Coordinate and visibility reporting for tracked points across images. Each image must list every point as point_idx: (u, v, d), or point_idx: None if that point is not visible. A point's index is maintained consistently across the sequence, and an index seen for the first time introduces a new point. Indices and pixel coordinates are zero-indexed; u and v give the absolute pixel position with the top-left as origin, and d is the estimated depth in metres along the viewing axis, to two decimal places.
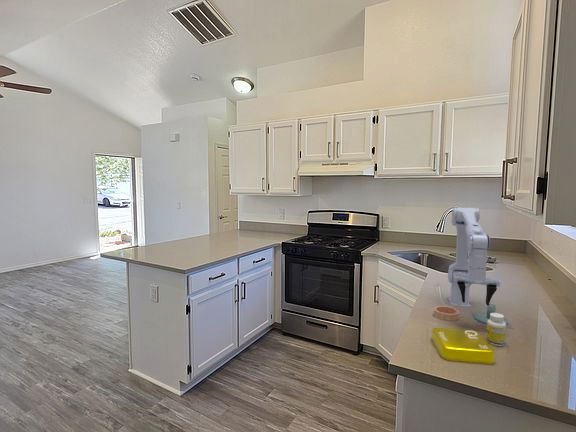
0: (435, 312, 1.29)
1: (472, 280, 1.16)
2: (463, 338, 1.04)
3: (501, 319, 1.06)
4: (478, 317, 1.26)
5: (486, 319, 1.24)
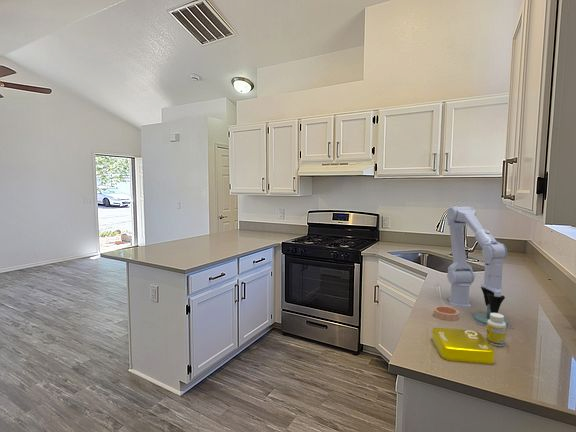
0: (435, 312, 1.29)
1: None
2: (463, 338, 1.04)
3: (501, 319, 1.06)
4: (478, 317, 1.26)
5: (486, 319, 1.24)
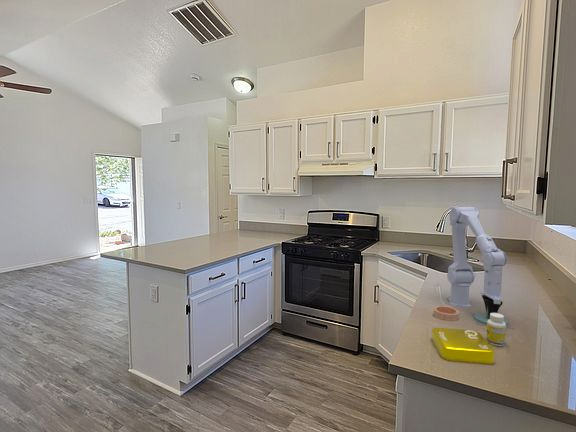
0: (435, 312, 1.29)
1: (483, 291, 1.27)
2: (463, 338, 1.04)
3: (501, 319, 1.06)
4: (478, 317, 1.26)
5: (486, 319, 1.24)
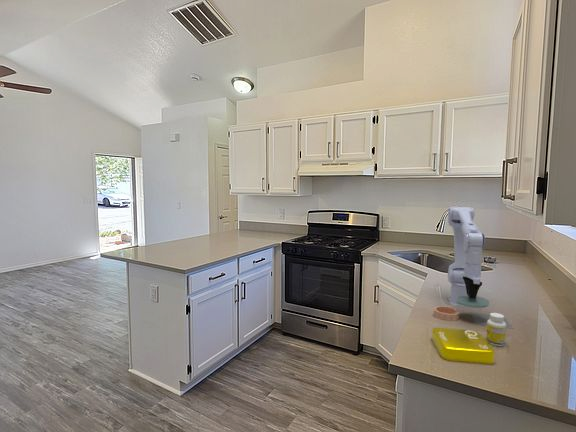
0: (435, 312, 1.29)
1: None
2: (463, 338, 1.04)
3: (501, 319, 1.06)
4: (460, 300, 1.27)
5: (467, 302, 1.25)
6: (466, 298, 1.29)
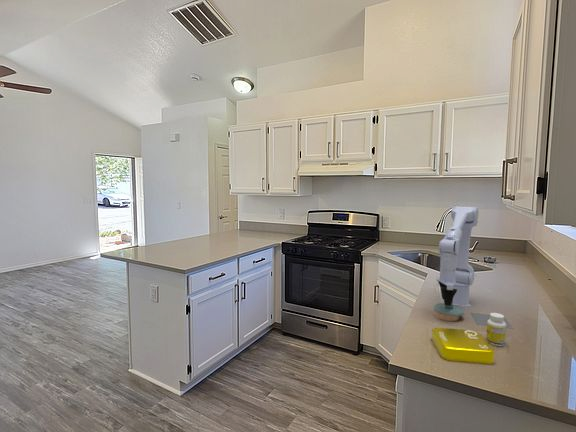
0: (435, 312, 1.29)
1: None
2: (463, 338, 1.04)
3: (501, 319, 1.06)
4: (437, 307, 1.30)
5: (443, 309, 1.28)
6: (443, 306, 1.32)
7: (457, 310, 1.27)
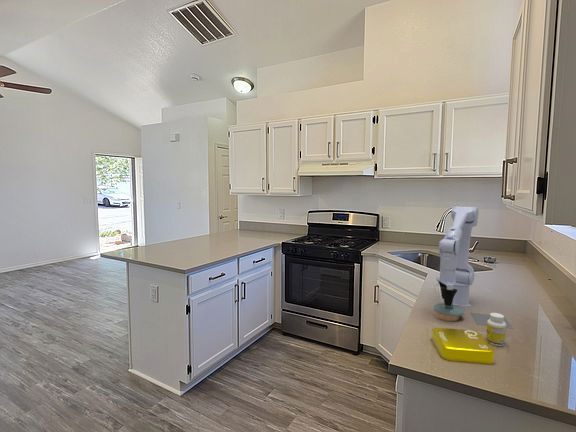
0: (435, 312, 1.29)
1: None
2: (463, 338, 1.04)
3: (501, 319, 1.06)
4: (437, 307, 1.30)
5: (443, 309, 1.28)
6: (443, 306, 1.32)
7: (457, 310, 1.27)
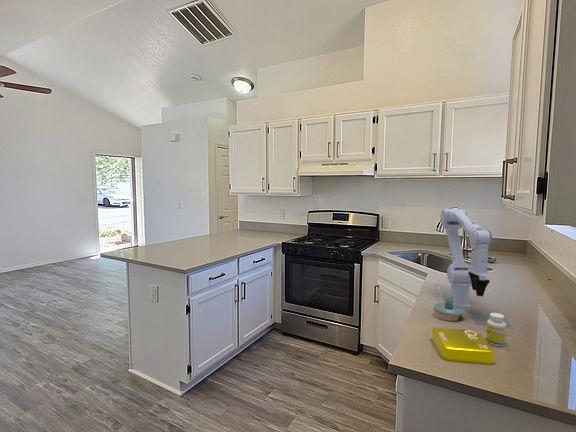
0: (435, 312, 1.29)
1: None
2: (463, 338, 1.04)
3: (501, 319, 1.06)
4: (437, 307, 1.30)
5: (443, 309, 1.28)
6: (443, 306, 1.32)
7: (457, 310, 1.27)
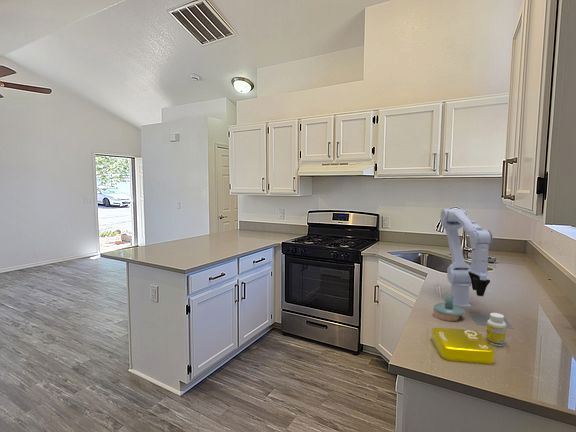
0: (435, 312, 1.29)
1: None
2: (463, 338, 1.04)
3: (501, 319, 1.06)
4: (437, 307, 1.30)
5: (443, 309, 1.28)
6: (443, 306, 1.32)
7: (457, 310, 1.27)
